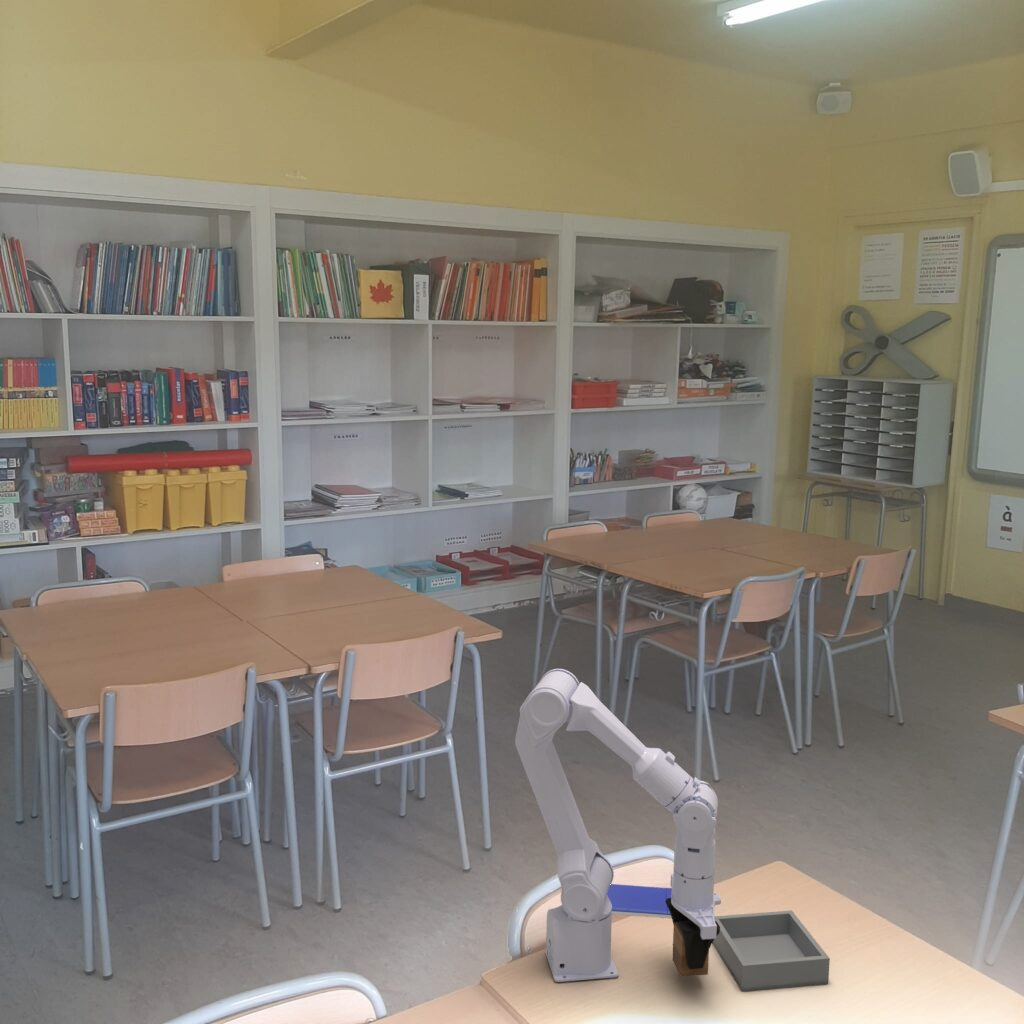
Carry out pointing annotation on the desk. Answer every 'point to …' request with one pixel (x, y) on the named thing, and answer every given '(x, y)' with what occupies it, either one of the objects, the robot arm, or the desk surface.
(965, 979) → the desk surface
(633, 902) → the hard drive
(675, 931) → the walnut block
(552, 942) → the robot arm
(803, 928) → the grey bin
